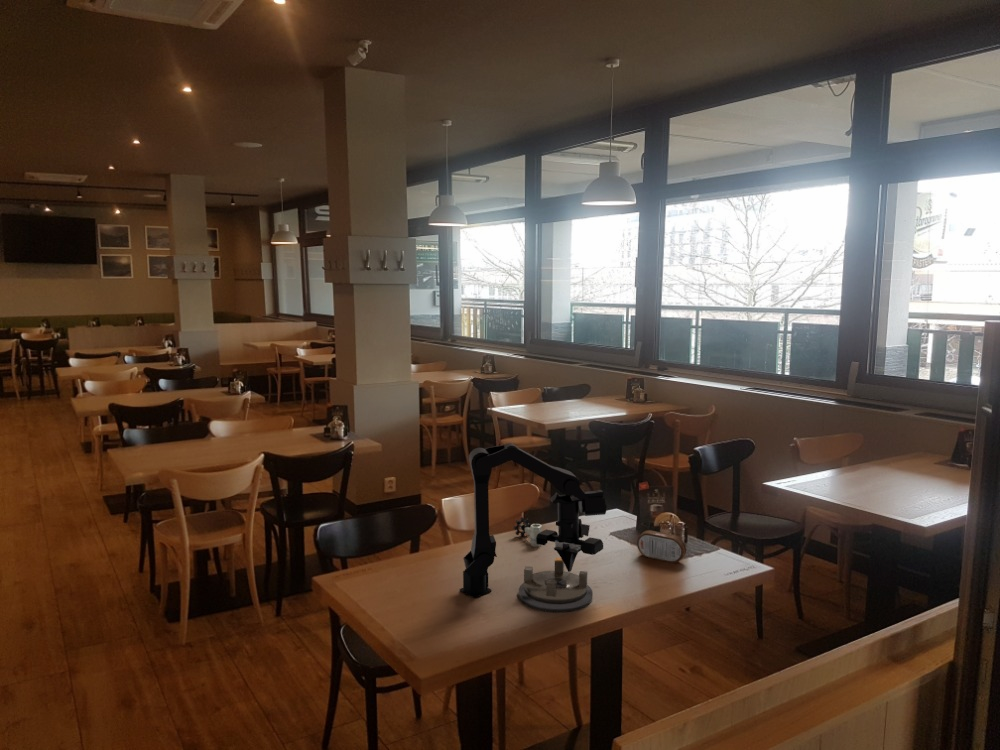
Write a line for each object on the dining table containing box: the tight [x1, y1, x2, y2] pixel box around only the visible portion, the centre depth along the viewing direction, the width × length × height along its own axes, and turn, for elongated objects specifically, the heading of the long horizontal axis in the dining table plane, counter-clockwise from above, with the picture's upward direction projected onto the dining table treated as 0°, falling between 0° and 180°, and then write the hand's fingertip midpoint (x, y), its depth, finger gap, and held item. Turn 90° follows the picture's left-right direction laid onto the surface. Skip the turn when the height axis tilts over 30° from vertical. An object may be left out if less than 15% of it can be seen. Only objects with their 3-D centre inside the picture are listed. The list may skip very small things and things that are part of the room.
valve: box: [512, 516, 543, 548], centre depth 231 cm, size 7×7×12 cm
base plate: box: [518, 582, 594, 613], centre depth 189 cm, size 20×20×2 cm
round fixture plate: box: [523, 557, 589, 604], centre depth 188 cm, size 17×17×6 cm
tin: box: [636, 529, 687, 564], centre depth 214 cm, size 15×3×8 cm, turn 58°
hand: (569, 571), depth 194 cm, fingers closed
